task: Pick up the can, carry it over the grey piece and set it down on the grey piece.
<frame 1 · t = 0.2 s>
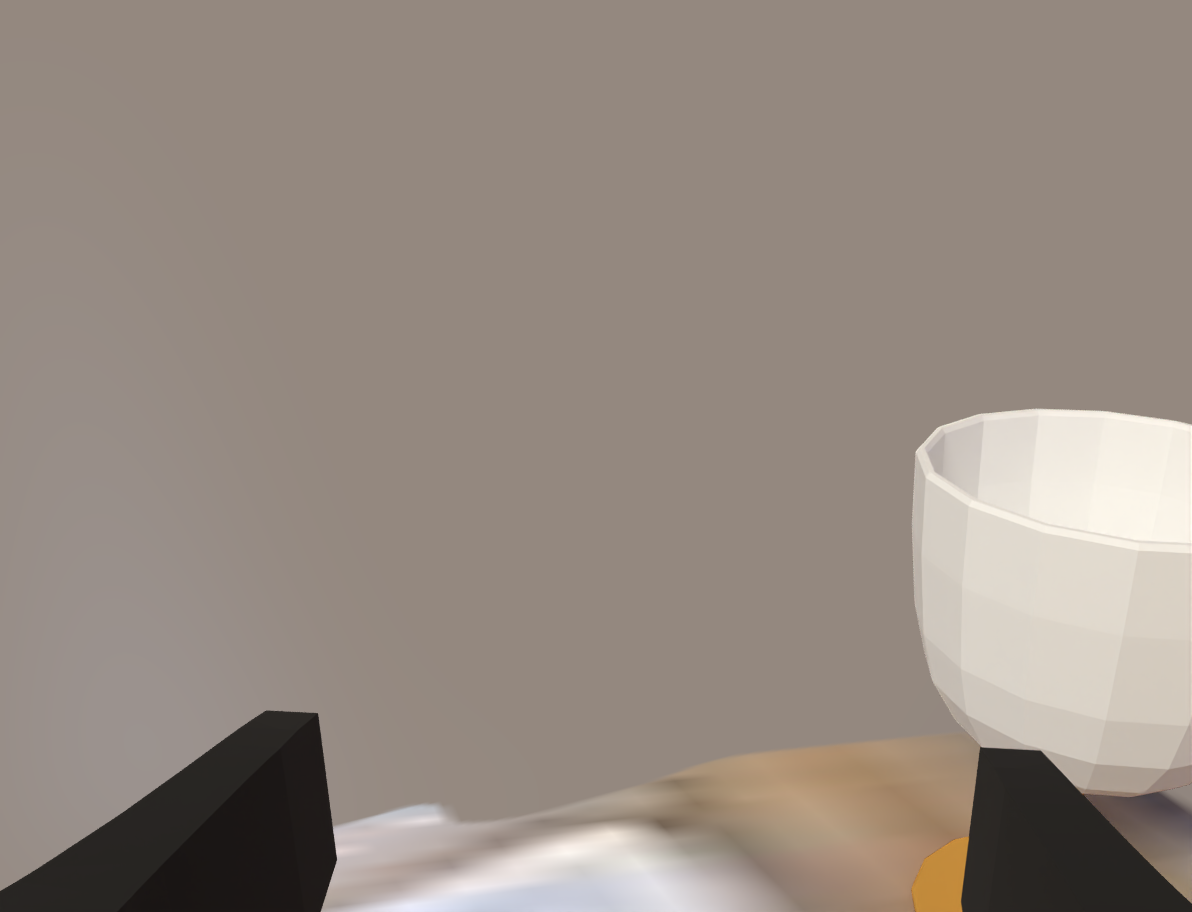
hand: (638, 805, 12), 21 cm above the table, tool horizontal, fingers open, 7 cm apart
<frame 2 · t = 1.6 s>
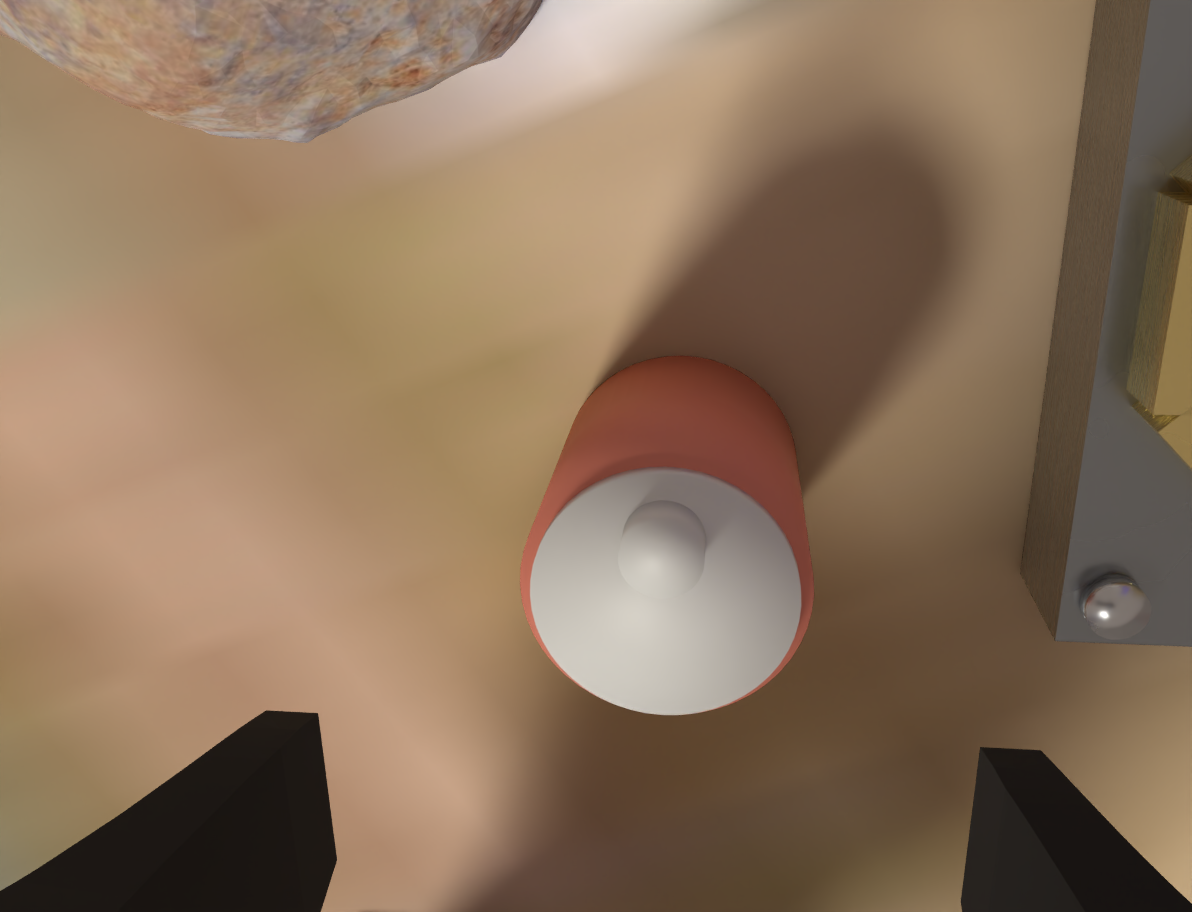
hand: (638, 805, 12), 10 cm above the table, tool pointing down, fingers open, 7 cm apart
can: (679, 466, 21), on the table
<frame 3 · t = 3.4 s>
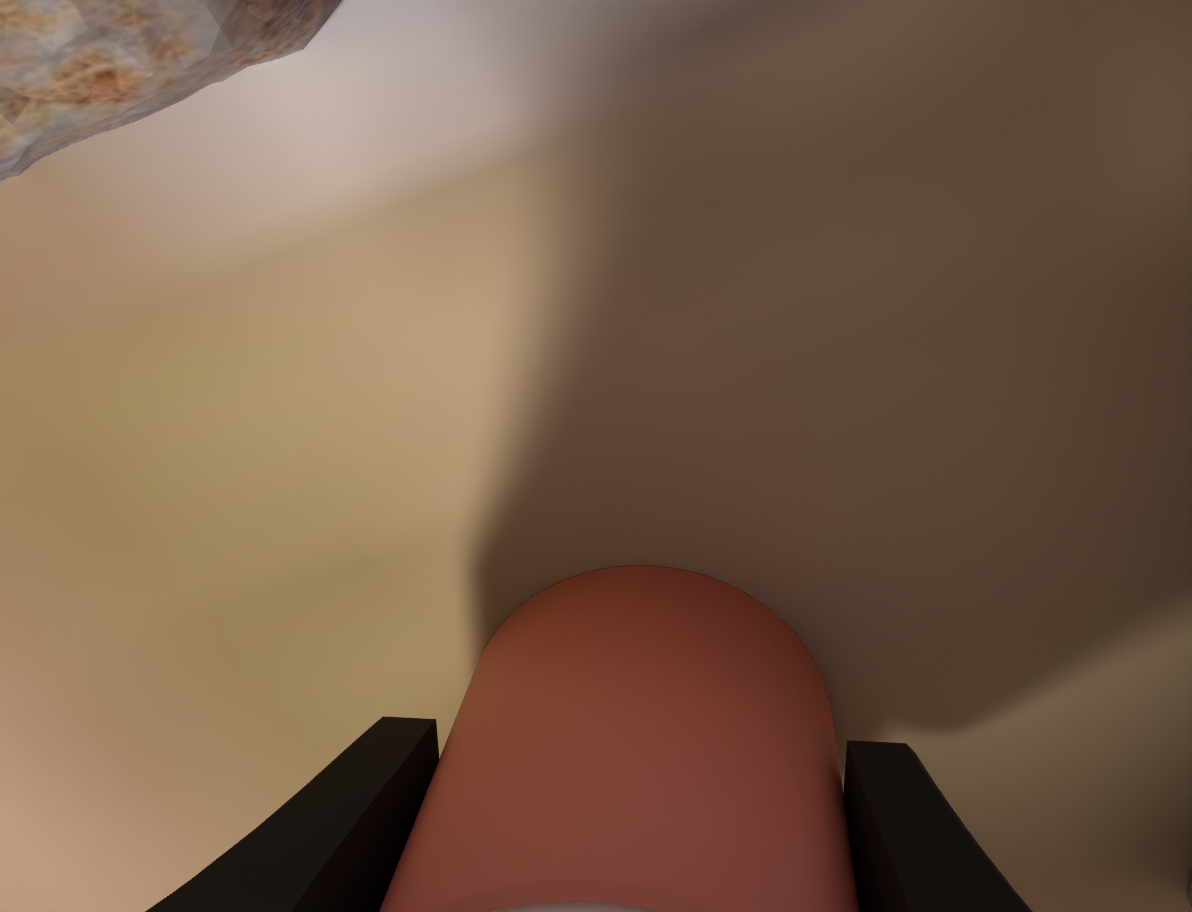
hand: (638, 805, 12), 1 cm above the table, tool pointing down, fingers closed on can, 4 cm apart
can: (647, 729, 14), on the table, touching gripper
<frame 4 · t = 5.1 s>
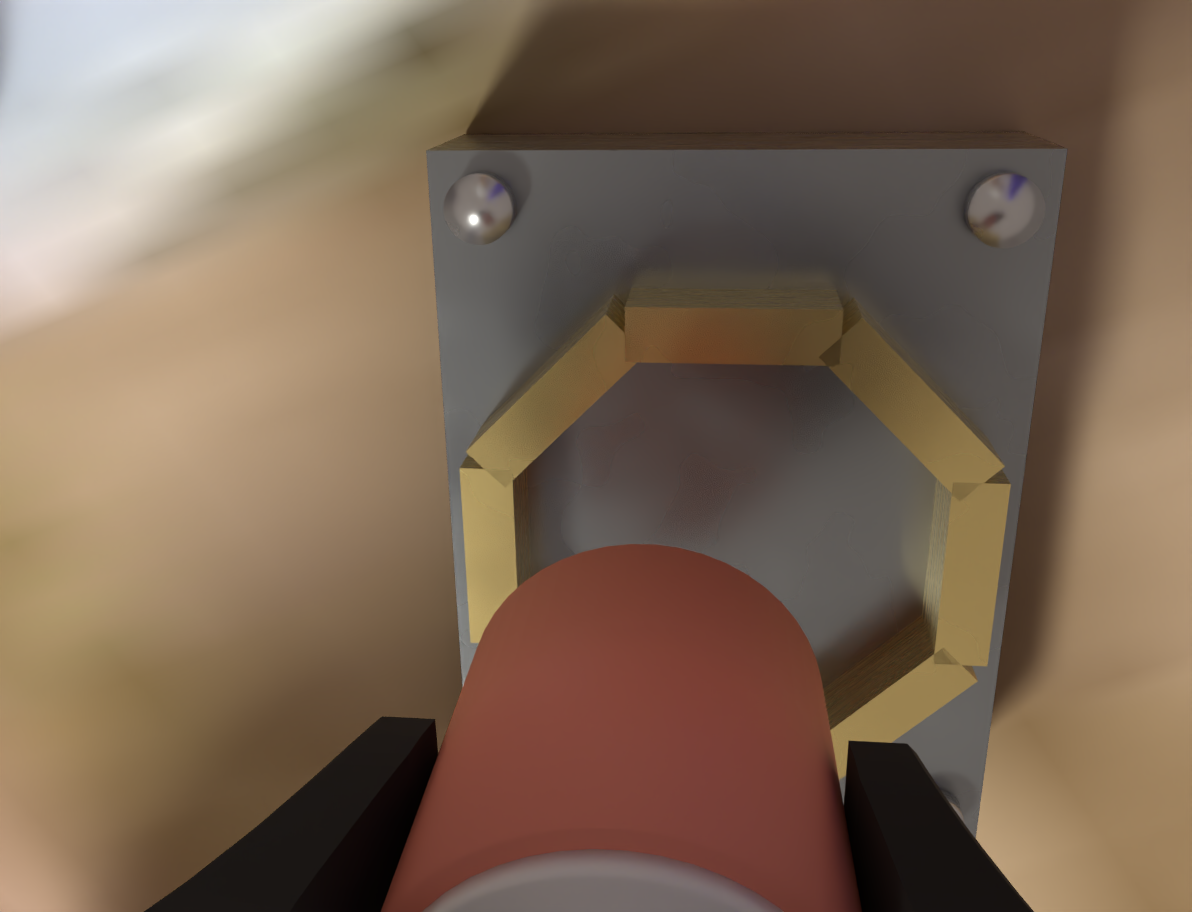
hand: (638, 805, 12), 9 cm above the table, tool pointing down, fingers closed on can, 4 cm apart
can: (644, 703, 14), point 7 cm above the table, touching gripper
grey piece: (726, 475, 20), on the table
when the fingers open (4 cm above the table, at t = 6.9 s): can stays where it is, resting on grey piece.
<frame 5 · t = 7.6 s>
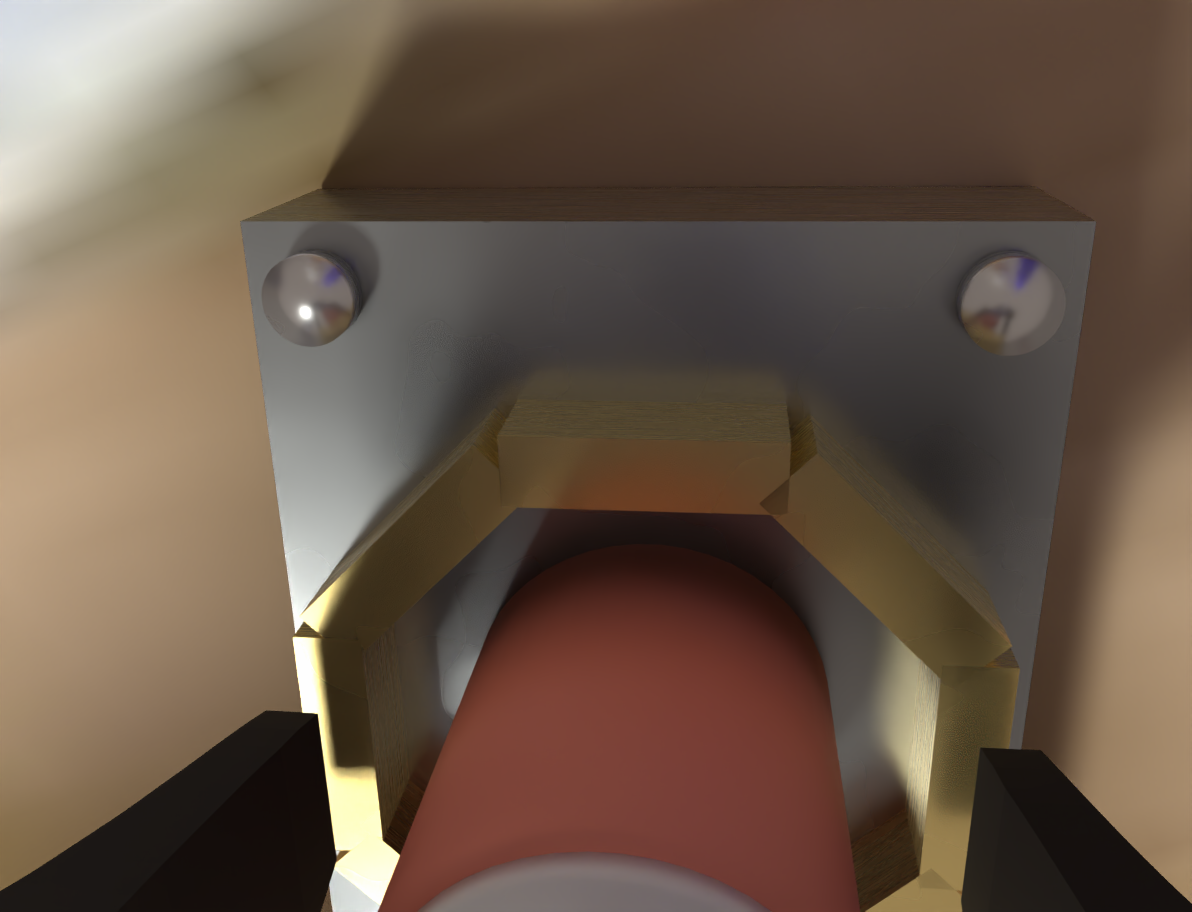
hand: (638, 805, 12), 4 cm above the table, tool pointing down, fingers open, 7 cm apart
can: (649, 703, 14), point 2 cm above the table, touching grey piece
grey piece: (662, 608, 16), on the table
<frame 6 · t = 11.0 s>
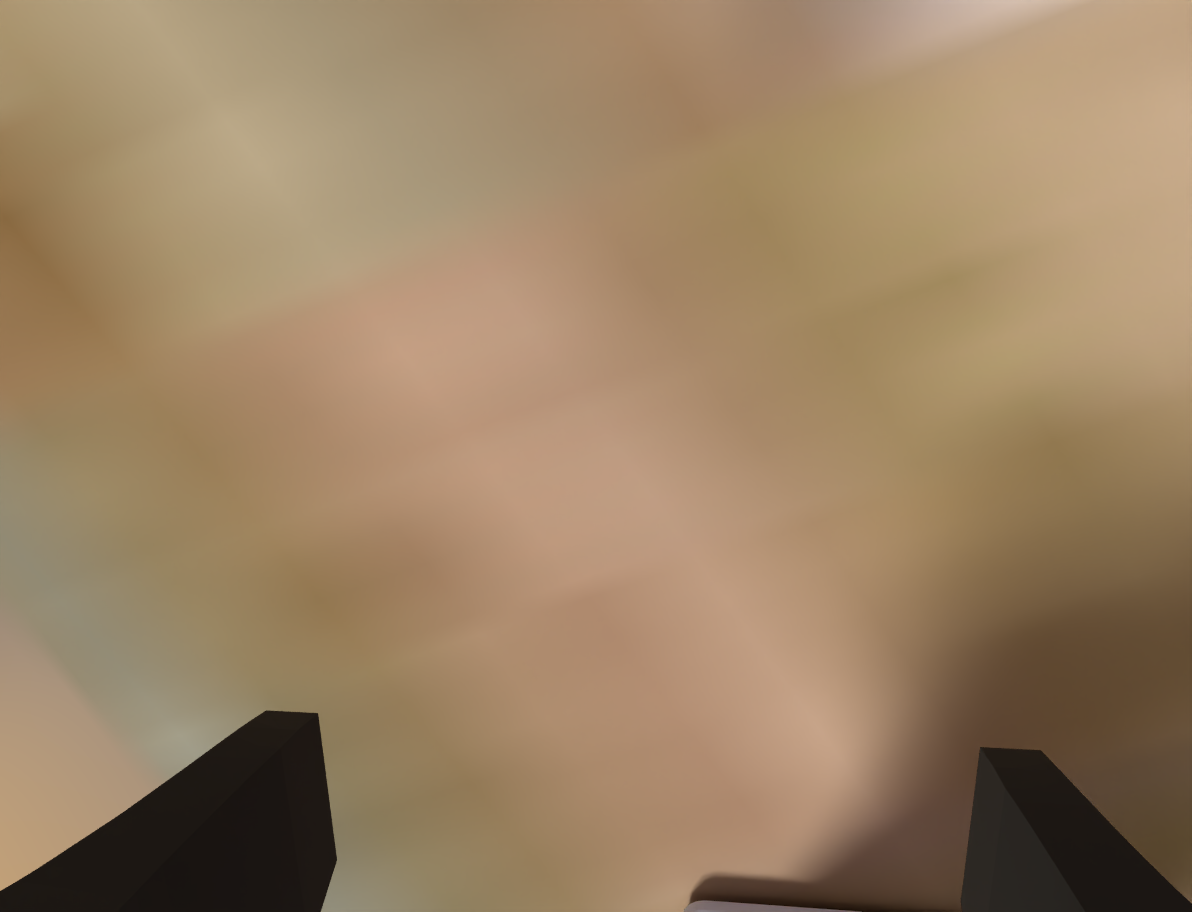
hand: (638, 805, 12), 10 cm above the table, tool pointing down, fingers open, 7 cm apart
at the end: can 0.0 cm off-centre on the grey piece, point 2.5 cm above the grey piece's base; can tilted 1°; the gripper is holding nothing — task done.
